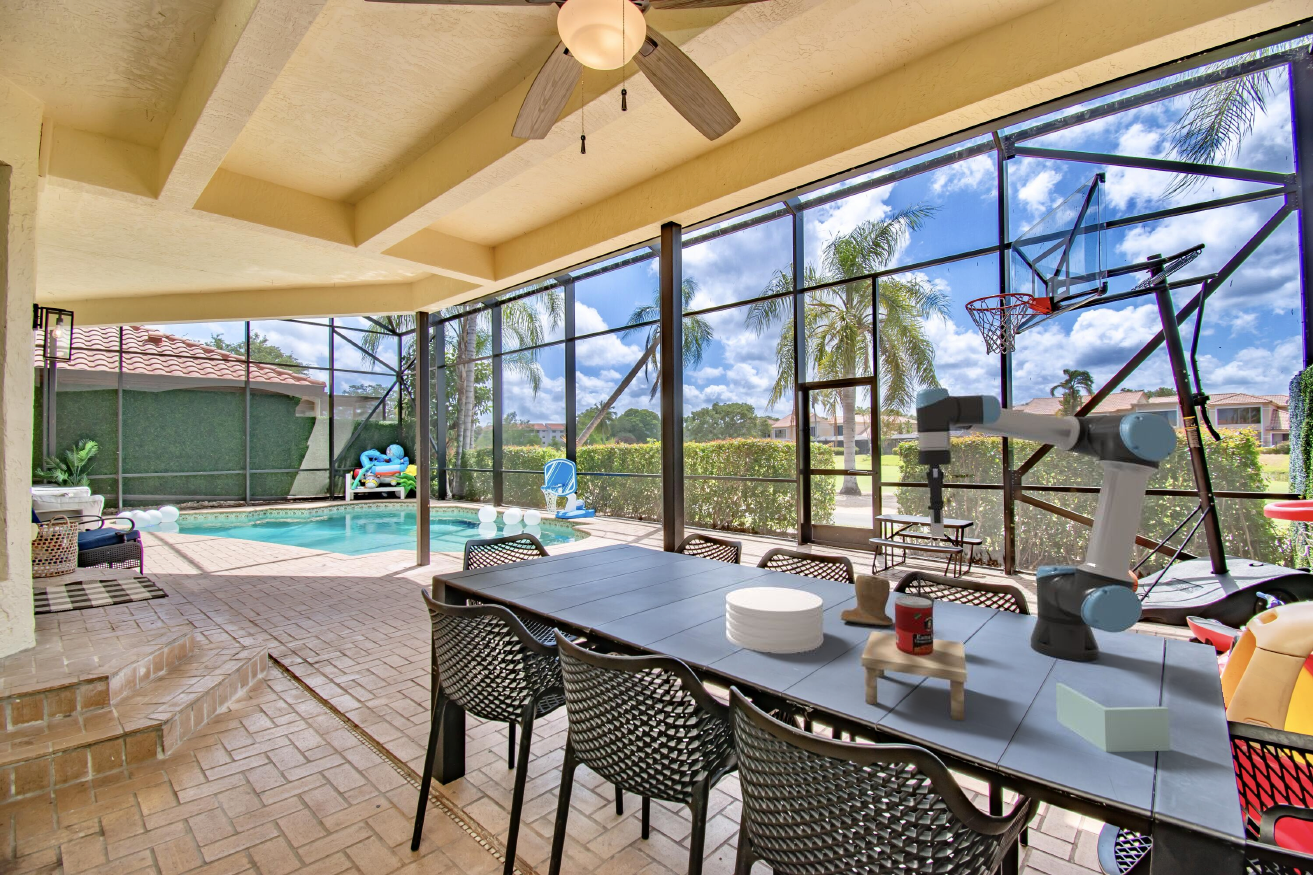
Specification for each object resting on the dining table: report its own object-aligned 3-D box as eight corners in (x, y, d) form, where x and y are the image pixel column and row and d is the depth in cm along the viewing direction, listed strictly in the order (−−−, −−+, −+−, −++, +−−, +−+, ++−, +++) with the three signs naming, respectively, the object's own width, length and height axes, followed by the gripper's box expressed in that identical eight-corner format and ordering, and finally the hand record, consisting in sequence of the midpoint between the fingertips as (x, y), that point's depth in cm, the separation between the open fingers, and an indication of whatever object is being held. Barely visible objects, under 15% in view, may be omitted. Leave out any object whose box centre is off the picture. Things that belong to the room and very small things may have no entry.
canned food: (918, 658, 122) (917, 606, 122) (887, 647, 129) (886, 598, 130) (941, 652, 126) (940, 602, 126) (910, 641, 133) (909, 594, 133)
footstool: (964, 686, 132) (963, 642, 132) (967, 723, 114) (966, 672, 114) (872, 671, 141) (871, 630, 141) (862, 703, 123) (861, 656, 123)
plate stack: (834, 632, 172) (834, 594, 173) (805, 661, 149) (805, 616, 149) (748, 618, 187) (748, 583, 188) (710, 642, 164) (709, 602, 164)
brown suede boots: (893, 619, 184) (892, 573, 185) (892, 630, 173) (891, 581, 174) (844, 614, 190) (843, 569, 191) (840, 624, 179) (839, 576, 180)
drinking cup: (929, 642, 162) (928, 571, 162) (940, 651, 154) (938, 577, 155) (901, 641, 163) (900, 571, 163) (910, 651, 155) (909, 577, 156)
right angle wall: (1170, 750, 103) (1168, 708, 103) (1105, 751, 103) (1104, 709, 103) (1114, 719, 115) (1113, 681, 115) (1057, 720, 115) (1056, 683, 115)
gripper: (918, 449, 158) (921, 526, 157) (917, 449, 135) (920, 539, 135) (948, 448, 155) (951, 526, 154) (952, 449, 132) (956, 540, 131)
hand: (937, 532), depth 144 cm, fingers open, 13 cm apart
